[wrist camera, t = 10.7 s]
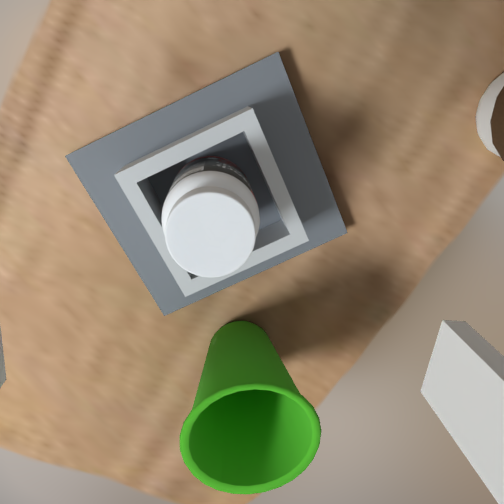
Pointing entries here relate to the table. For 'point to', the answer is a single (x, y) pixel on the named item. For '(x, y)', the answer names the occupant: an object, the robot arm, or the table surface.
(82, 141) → the table surface
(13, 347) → the table surface
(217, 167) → the pill bottle
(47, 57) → the table surface
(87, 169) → the socket
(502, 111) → the coffee cup
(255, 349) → the cup
